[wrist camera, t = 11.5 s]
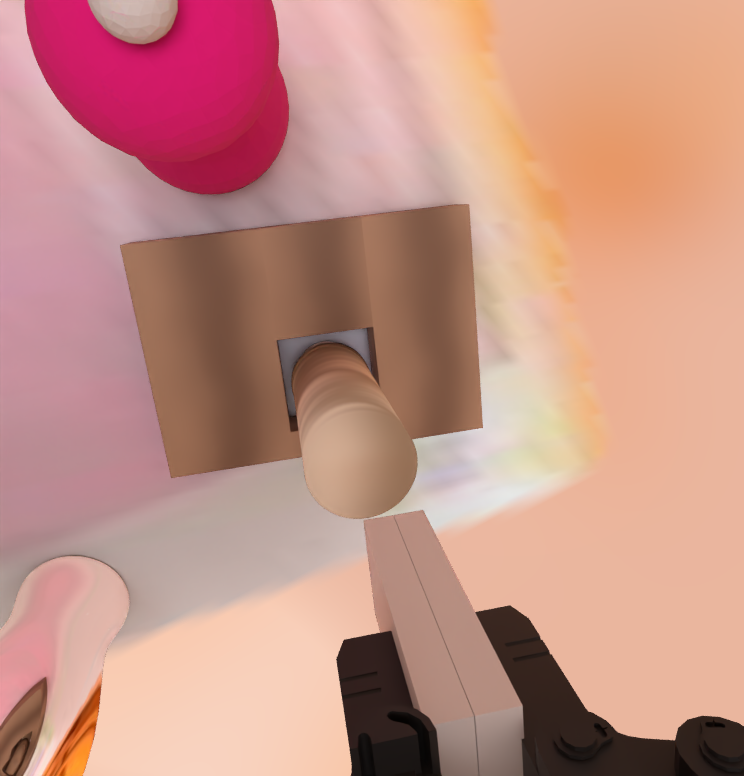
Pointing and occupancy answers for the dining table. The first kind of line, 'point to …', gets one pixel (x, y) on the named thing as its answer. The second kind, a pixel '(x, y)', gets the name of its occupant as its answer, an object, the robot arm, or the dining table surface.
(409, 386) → the board
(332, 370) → the peg
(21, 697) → the beer glass
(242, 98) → the pepper mill
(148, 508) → the dining table surface
